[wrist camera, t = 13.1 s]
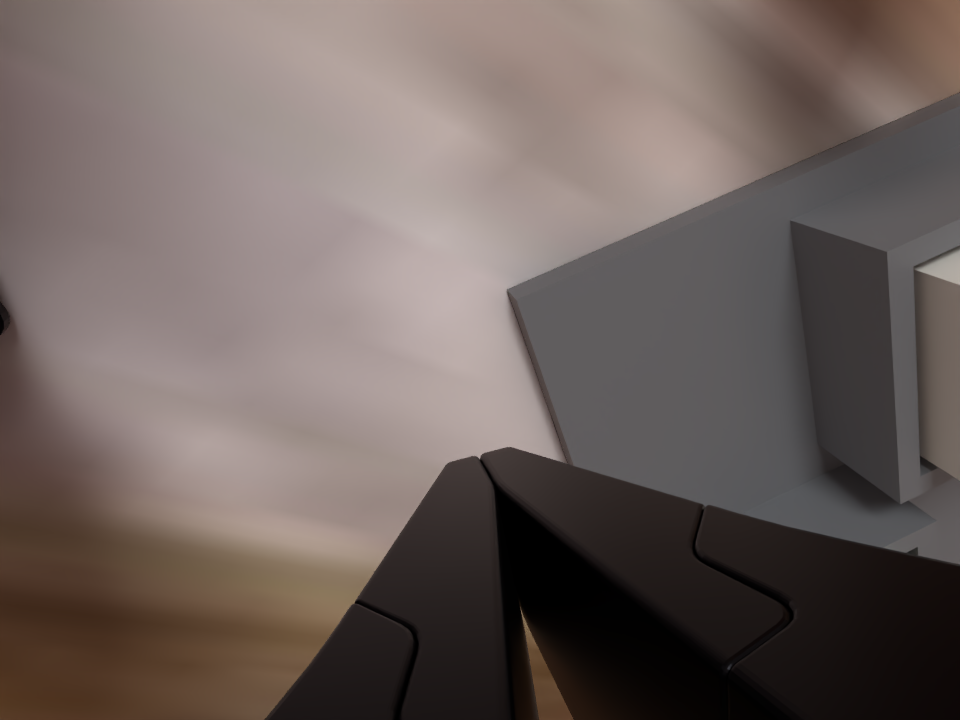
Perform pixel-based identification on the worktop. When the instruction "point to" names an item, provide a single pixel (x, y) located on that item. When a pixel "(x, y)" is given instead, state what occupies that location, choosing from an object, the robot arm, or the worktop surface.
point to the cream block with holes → (939, 359)
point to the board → (768, 344)
